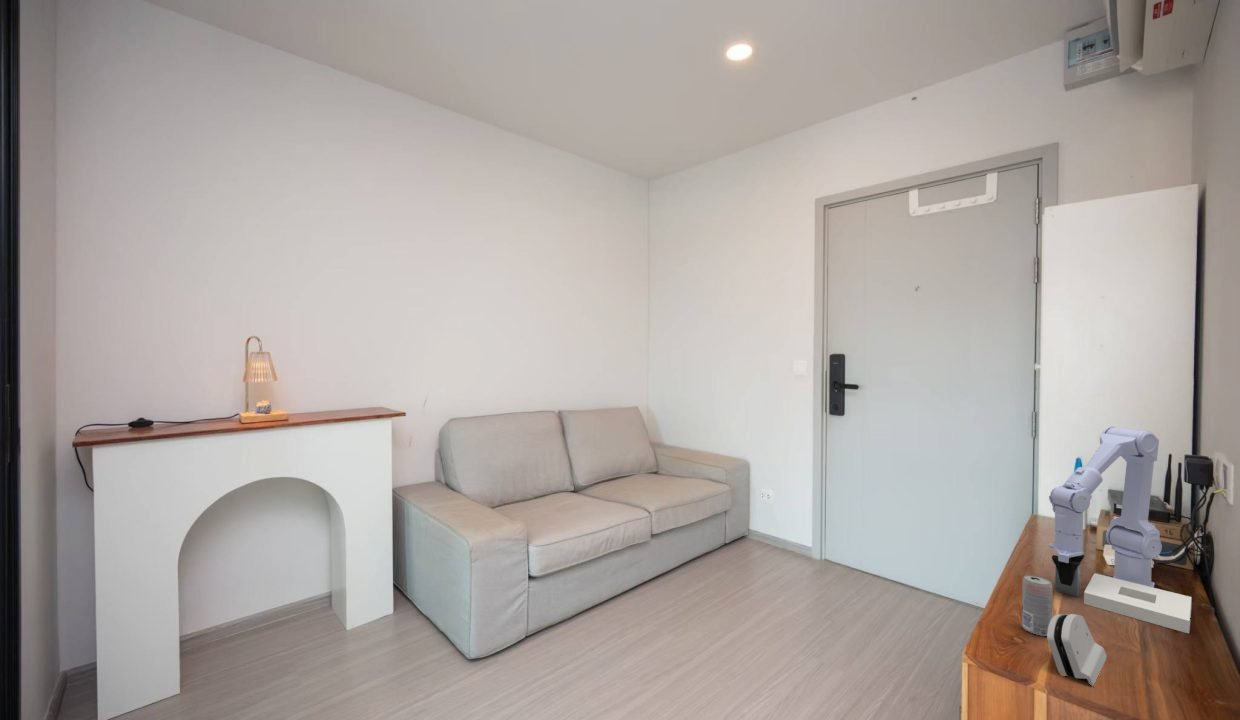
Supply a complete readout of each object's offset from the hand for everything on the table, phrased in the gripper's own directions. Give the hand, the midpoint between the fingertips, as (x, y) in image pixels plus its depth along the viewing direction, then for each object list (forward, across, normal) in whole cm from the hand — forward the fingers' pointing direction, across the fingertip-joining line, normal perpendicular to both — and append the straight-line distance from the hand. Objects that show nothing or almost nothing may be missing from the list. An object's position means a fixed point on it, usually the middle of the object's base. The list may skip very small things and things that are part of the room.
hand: (1067, 581), depth 136 cm
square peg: (+3, 0, 0) cm, 3 cm away
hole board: (+3, -3, +13) cm, 14 cm away
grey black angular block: (+3, +41, +7) cm, 42 cm away
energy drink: (+3, +32, -1) cm, 32 cm away
